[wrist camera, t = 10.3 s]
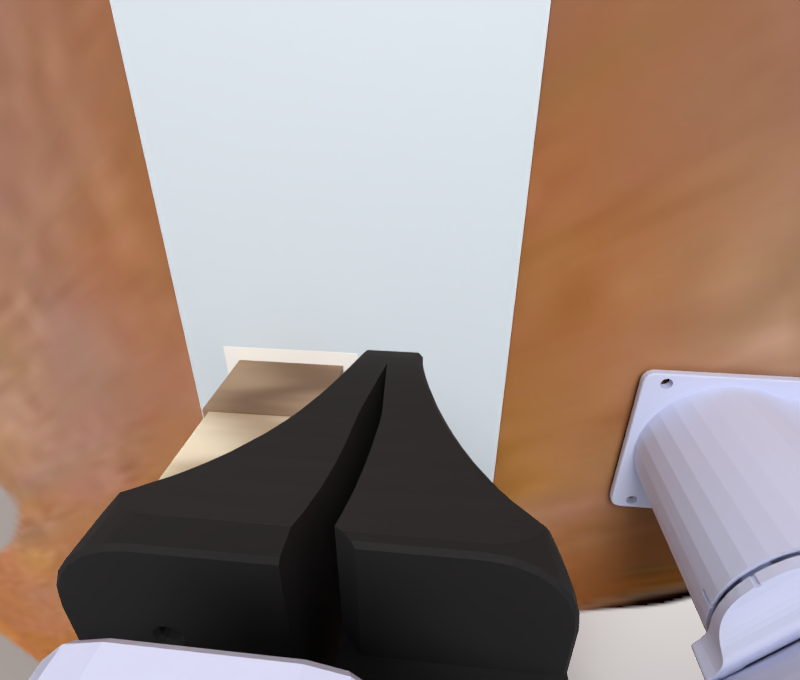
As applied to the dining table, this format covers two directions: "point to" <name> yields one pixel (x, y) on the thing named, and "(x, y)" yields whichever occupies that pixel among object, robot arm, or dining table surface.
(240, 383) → the walnut base block
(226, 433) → the birch block
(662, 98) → the dining table surface
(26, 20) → the dining table surface
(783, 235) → the dining table surface
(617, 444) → the dining table surface
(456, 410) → the pale grey rectangular board
